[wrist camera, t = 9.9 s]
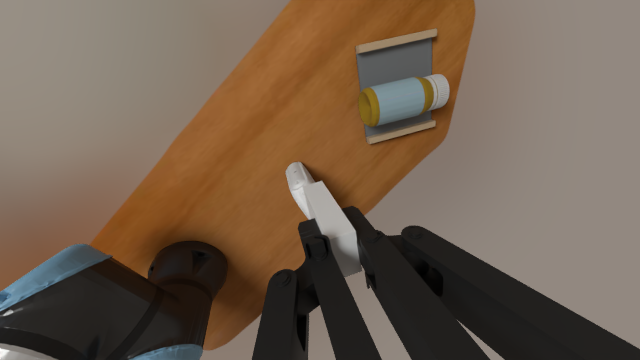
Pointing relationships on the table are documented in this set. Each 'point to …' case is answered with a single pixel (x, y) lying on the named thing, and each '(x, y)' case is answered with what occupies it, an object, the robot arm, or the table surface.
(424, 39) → the grey tray
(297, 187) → the photo printer
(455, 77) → the table surface
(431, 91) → the bottle
